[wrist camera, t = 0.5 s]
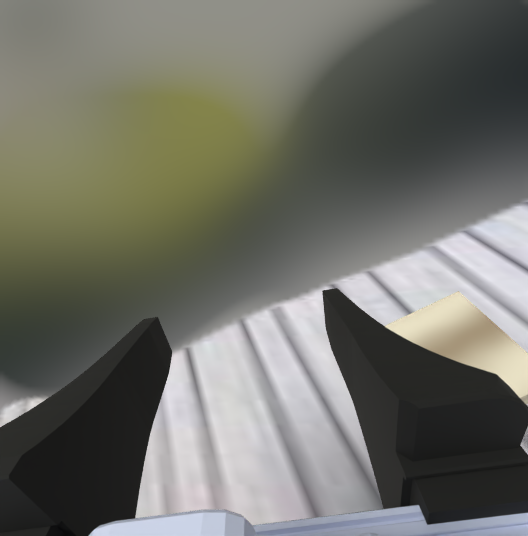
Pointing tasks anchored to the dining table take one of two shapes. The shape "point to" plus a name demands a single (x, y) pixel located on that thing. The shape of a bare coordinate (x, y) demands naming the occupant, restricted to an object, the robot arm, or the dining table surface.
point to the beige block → (467, 339)
